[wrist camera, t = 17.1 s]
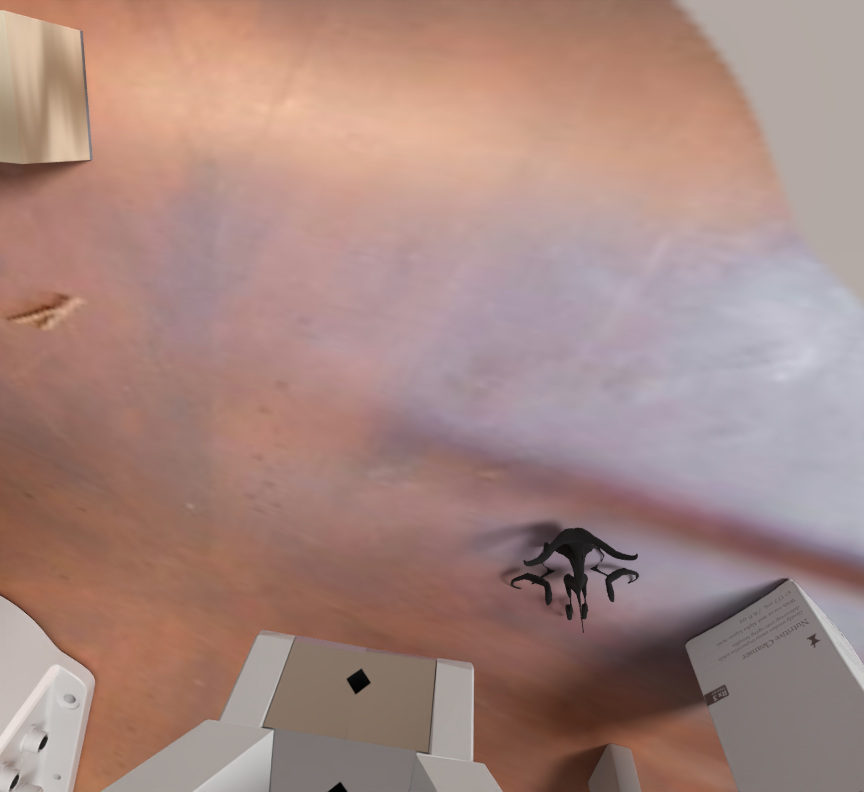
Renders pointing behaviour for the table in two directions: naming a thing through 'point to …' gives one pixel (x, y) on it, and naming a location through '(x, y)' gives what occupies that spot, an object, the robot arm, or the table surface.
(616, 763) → the lighter
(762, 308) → the table surface
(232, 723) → the robot arm
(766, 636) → the skincare box
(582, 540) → the creature
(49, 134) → the maple cube
